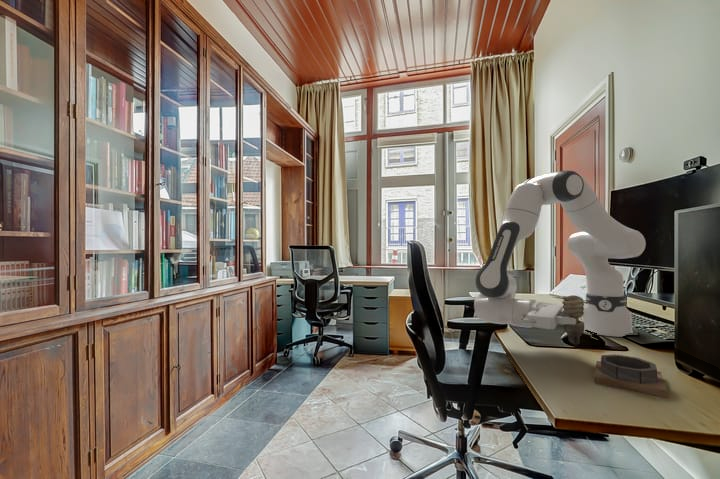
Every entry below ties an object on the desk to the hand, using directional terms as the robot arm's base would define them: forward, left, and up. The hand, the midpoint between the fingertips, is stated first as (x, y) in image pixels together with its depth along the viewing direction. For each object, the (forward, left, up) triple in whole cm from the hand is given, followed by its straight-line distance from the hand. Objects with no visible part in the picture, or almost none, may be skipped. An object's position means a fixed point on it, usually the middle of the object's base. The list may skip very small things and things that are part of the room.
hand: (577, 318), depth 94 cm
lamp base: (+10, +11, -12) cm, 19 cm away
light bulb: (0, -1, -8) cm, 8 cm away
